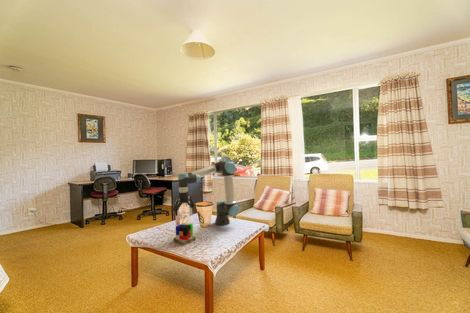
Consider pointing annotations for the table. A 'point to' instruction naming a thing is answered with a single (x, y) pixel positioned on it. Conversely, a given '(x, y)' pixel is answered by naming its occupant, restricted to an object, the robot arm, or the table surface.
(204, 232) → the table surface
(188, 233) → the puzzle toy
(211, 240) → the table surface
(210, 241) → the table surface
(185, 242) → the plinth
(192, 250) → the table surface
